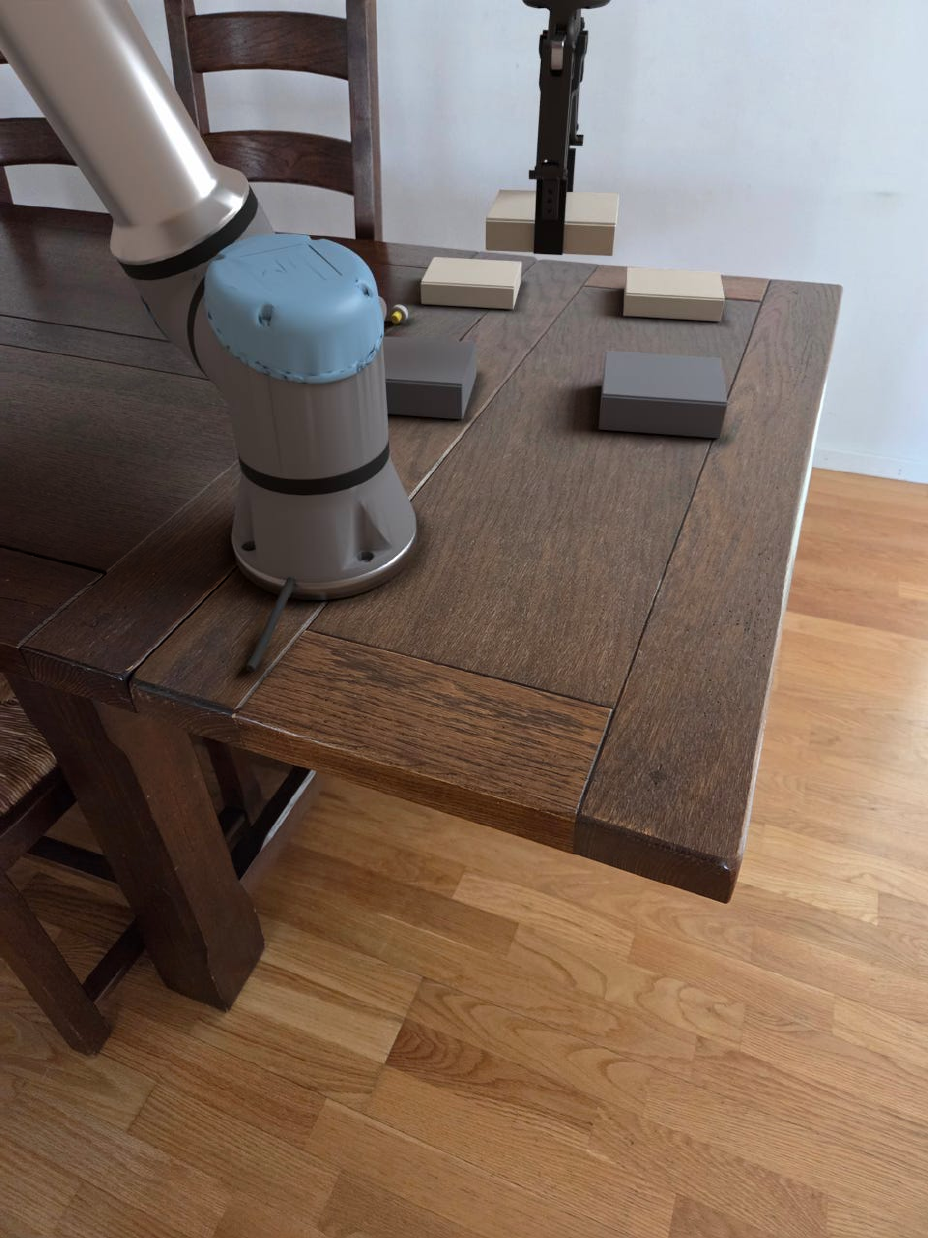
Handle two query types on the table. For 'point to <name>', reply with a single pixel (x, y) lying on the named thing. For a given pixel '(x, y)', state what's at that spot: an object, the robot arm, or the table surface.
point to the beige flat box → (583, 231)
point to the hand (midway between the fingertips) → (553, 235)
